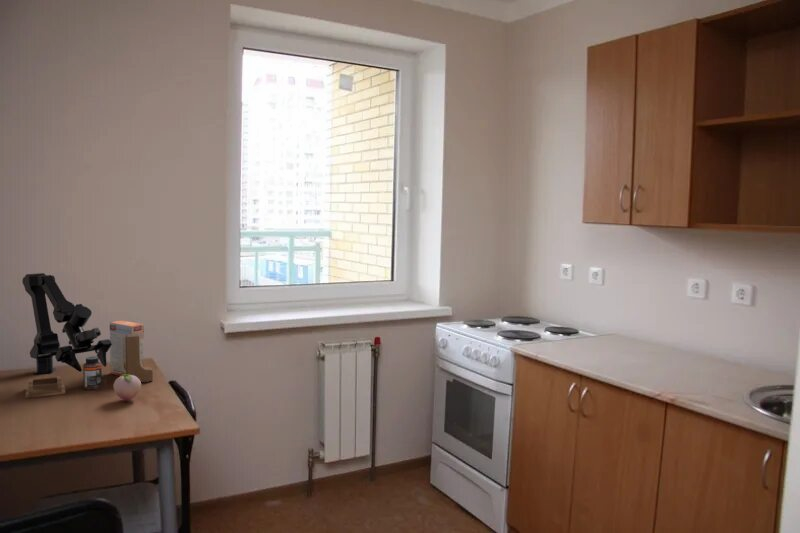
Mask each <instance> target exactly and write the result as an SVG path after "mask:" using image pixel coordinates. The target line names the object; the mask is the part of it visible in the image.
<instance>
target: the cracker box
mask: <svg viewBox="0 0 800 533" xmlns="http://www.w3.org/2000/svg"><path fill="white" fill-rule="evenodd" d="M144 332H145V329H144V324H143V323H138V322H133V321H125V320H115V321H110V322H109V340H110V341H111V343H112V345H111V347H110V348H109V364H110V368H109V371H110V372H109V373H110V374H112V375H115V376H119V377H120V376H121V375H122V374H126V335H131V334H138V335H139V342H140V364H141V365H142V366H143V367H145V352H144V351H145V348H144V346H145V342H144V341H145V338H144V337H145V336H144V335H145V333H144Z"/></svg>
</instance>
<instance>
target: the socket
mask: <svg viewBox="0 0 800 533" xmlns="http://www.w3.org/2000/svg"><path fill="white" fill-rule="evenodd" d="M64 394H66V388H65V382H64V383H63V382H62V376H53V377H50V376H49V377H40V378H33V379H30V378H29V379H28V387H27V386H26V387H25V399H29V398H30V397H32V398H39V397H41V398H42V397H46V396H47V397H49V396H56V395H57V396H58V395H64Z"/></svg>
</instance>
